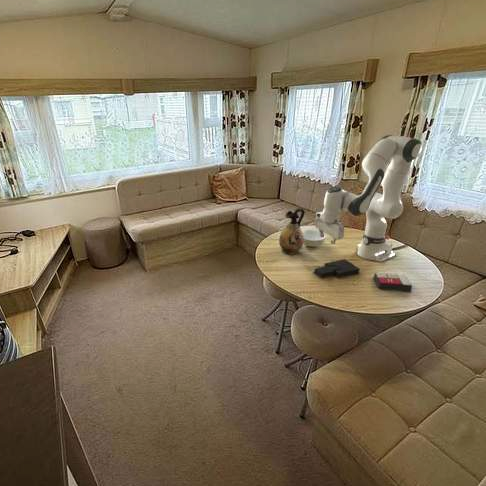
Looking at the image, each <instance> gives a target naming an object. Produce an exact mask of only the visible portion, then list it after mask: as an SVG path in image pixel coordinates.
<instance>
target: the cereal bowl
mask: <svg viewBox="0 0 486 486" xmlns="http://www.w3.org/2000/svg"><path fill="white" fill-rule="evenodd" d="M301 231H302V230H301ZM302 233H303V236H304V243H303V245H305V246H307V247H310V248H313V247H320V246H321V245H323V244H324V243H325V241H326V235H325V234H324V237H320V232H319V230H313V229H307V230H303V231H302Z"/></svg>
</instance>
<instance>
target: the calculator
mask: <svg viewBox="0 0 486 486" xmlns="http://www.w3.org/2000/svg"><path fill="white" fill-rule="evenodd" d="M373 275H374V276H373V279H374V282H375V283H376V285H377V287H378V289H380V290H396V291H402V292H411V291H412V288H413V285H412V283H411V281H410V280H409V279H408V277H407V276H406V275H405V274H401V273H392V272H391V273H390V272H387V273H386V272H375V273H374V274H373Z"/></svg>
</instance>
